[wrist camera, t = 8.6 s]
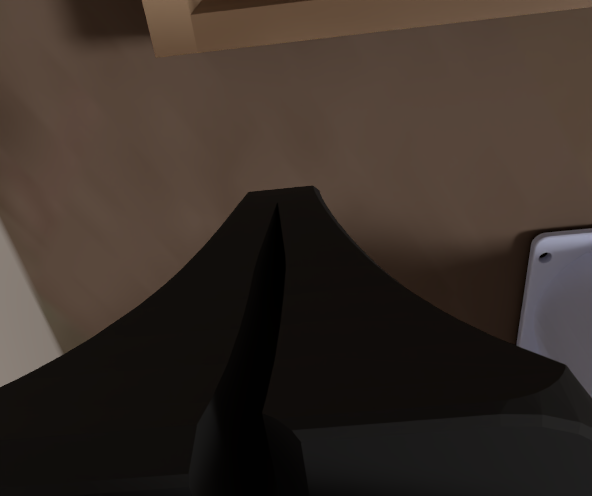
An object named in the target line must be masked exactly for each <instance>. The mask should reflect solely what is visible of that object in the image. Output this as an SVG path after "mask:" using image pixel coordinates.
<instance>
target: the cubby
mask: <svg viewBox="0 0 592 496" xmlns="http://www.w3.org/2000/svg"><path fill="white" fill-rule="evenodd" d="M142 3H143V7H144V11H145V15H146V19H147V24H148V28H149V32H150V36H151V40H152V44H153V48H154V52H155V56H156V58H158V57H166V56H175V55H184V54H192V53H201V52H209V51H218V50H227V49H235V48H244V47H252V46H261V45H269V44H278V43H287V42H295V41H304V40H312V39H321V38H330V37H338V36H347V35H355V34H364V33H372V32H381V31H390V30H398V29H407V28H415V27H424V26H433V25H441V24H450V23H458V22H467V21H476V20H484V19H493V18H501V17H510V16H518V15H527V14H536V13H544V12H553V11H561V10H570V9H579V8H587V7H592V0H142Z"/></svg>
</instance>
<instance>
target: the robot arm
mask: <svg viewBox="0 0 592 496" xmlns="http://www.w3.org/2000/svg"><path fill="white" fill-rule="evenodd" d="M543 253H548V254H547V255H546V256H545V257H543V258H539V257H540V255H542V254H543ZM0 496H592V228H588V229H578V230H567V231H557V232H546V233H542V234H539V235H538V236H536V237H535V238H534V239H533V241H532V243H531V249H530V255H529V262H528V269H527V276H526V283H525V289H524V296H523V303H522V310H521V317H520V323H519V330H518V337H517V344H516V345H513V344H511V343H508V342H506V341H503V340H500V339H498V338H496V337H494V336H491V335H489V334H487V333H485V332H483V331H481V330H479V329H477V328H475V327H473V326H471V325H468V324H466V323H464V322H462V321H460V320H458V319H456V318H455V317H453V316H451V315H449V314H447V313H445V312H444V311H442V310H440V309H438V308H437V307H435V306H433V305H432V304H430V303H429V302H427V301H425V300H424V299H422V298H420V297H419V296H417V295H416V294H414V293H412V292H411V291H409V290H408V289H407V288H405V287H404V286H402V285H401V284H400V283H399V282H397V281H396V280H395V279H394V278H392V277H391V276H390V275H389V274H387V273H386V272H385V271H384V270H383V269H382V268H380V267H379V266H378V265H377V264H376V263H375V262H374V261H373V260H372V259H371V258H370V257H369V256H368V255H367V254H366V253H365V252H364V251H363V250H362V249H361V248H360V247H359V246H358V245H357V244H356V243H355V242H354V241H353V240H352V239H351V237H350V236H349V235H348V234H347V233H346V231H345V230H344V229H343V228H342V226H341V225H340V224H339V223H338V222H337V220H336V219H335V217H334V216H333V215H332V213H331V212H330V210H329V209H328V207H327V206H326V204H325V202H324V201H323V199H322V197H321V194H320V191H319V190H318V189H317V188H315V187H314V186H304V187H294V188H284V189H274V190H264V191H254V192H248V193H247V195H246V196H245V197H244V198H243V199H242V201H241V202H240V203H239V204H238V205H237V207H236V208H235V209H234V211H233V212H232V213H231V214H230V216H229V217H228V218H227V219H226V221H225V222H224V223H223V224H222V226H221V227H220V228H219V229H218V230H217V232H216V233H215V234H214V235H213V236H212V237H211V239H210V240H209V241H208V242H207V243H206V245H205V246H204V247H203V248H202V249H201V250H200V251H199V252H198V253H197V254H196V255H195V256H194V257H193V258H192V259H191V260H190V261H189V262H188V263H187V264H186V265H185V266H184V267H183V268H182V269H181V270H180V271H179V272H178V273H177V274H176V275H175V276H174V277H173V278H172V279H170V280H169V281H168V282H167V283H166V284H165V285H164V286H162V287H161V288H160V289H159V290H158V291H156V292H155V293H154V294H153V295H151V296H150V297H149V298H148V299H146V300H145V301H144V302H143V303H141V304H140V305H139V306H137V307H136V308H135V309H133V310H132V311H130V312H129V313H127V314H126V315H125V316H123V317H122V318H120V319H119V320H117V321H116V322H114V323H113V324H111V325H110V326H108V327H107V328H106V329H104V330H103V331H101V332H100V333H98V334H97V335H95V336H94V337H92V338H91V339H89V340H87V341H86V342H84V343H82V344H81V345H79V346H77V347H76V348H74V349H72V350H70V351H69V352H67V353H65V354H64V355H62V356H60V357H58V358H56V359H55V360H53V361H51V362H49V363H47V364H45V365H44V366H42V367H40V368H38V369H36V370H34V371H33V372H30V373H29V374H27V375H25V376H23V377H21V378H19V379H17V380H15V381H13V382H10V383H8V384H6V385H4V386H2V387H0Z"/></svg>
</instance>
